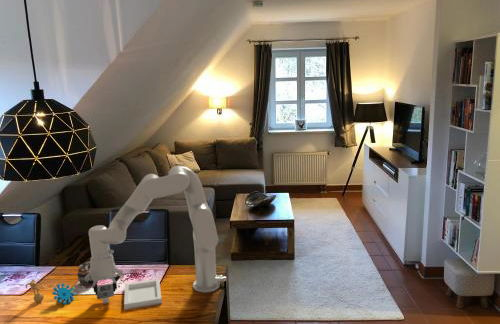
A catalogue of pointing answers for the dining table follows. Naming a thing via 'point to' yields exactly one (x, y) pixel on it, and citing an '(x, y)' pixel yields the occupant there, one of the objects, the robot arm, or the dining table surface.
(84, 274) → the cupcake
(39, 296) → the figurine
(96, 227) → the robot arm
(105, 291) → the grey square frame
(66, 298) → the blue virus model
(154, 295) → the tray
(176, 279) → the dining table surface
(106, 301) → the white rounded knob
